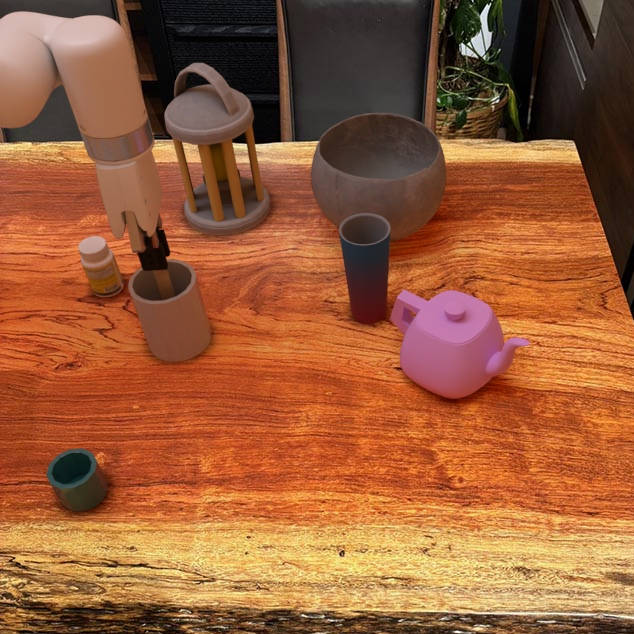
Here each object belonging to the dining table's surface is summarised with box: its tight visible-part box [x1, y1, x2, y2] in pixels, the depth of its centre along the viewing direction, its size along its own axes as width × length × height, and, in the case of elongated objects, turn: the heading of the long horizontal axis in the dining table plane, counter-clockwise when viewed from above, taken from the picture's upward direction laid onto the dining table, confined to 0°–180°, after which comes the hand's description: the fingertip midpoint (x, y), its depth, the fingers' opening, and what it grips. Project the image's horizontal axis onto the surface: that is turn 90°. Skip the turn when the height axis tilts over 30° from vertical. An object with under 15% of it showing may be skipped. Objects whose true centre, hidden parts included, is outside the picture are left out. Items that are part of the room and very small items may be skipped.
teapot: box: [389, 289, 531, 400], centre depth 104 cm, size 13×20×11 cm
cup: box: [338, 213, 391, 325], centre depth 110 cm, size 7×7×15 cm
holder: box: [46, 447, 109, 513], centre depth 95 cm, size 6×6×5 cm
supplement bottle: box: [77, 235, 125, 298], centre depth 118 cm, size 5×5×8 cm
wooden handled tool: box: [142, 230, 176, 300], centre depth 106 cm, size 3×3×19 cm
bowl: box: [310, 112, 447, 243], centre depth 124 cm, size 20×20×15 cm
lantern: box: [164, 62, 271, 236], centre depth 124 cm, size 14×14×25 cm
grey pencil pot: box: [127, 258, 212, 363], centre depth 110 cm, size 9×9×11 cm
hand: (157, 261), depth 103 cm, fingers closed on wooden handled tool
